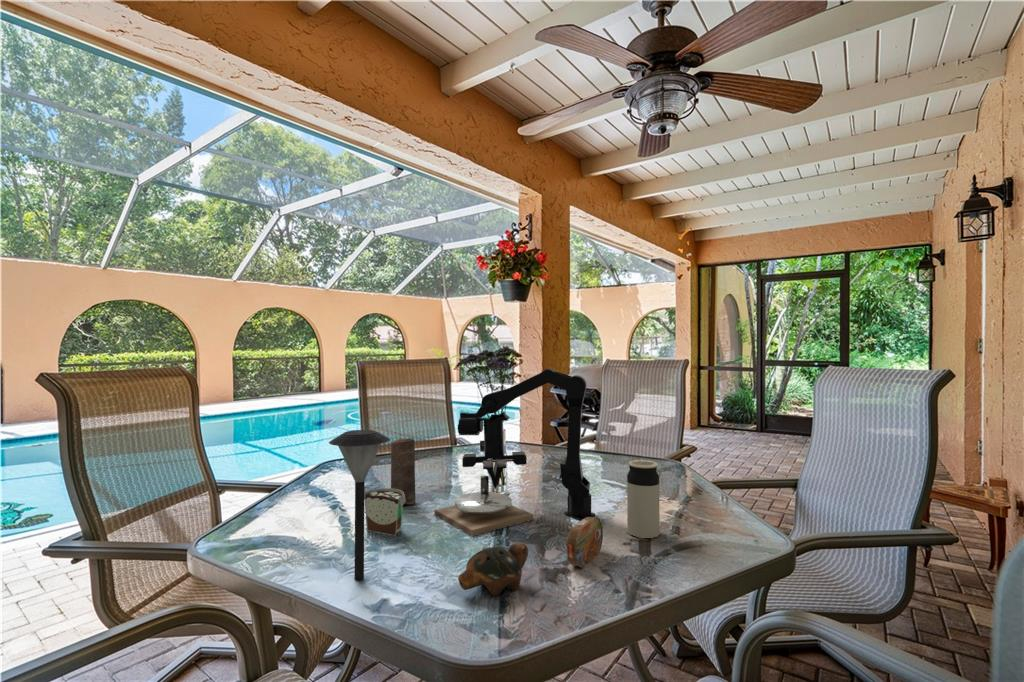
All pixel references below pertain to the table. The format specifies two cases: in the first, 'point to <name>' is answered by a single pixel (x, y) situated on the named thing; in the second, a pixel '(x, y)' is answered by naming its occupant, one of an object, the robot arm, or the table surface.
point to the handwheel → (483, 500)
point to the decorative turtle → (495, 568)
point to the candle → (403, 467)
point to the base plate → (482, 519)
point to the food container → (384, 510)
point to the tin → (584, 541)
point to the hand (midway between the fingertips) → (495, 488)
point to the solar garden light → (359, 478)
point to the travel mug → (643, 499)
